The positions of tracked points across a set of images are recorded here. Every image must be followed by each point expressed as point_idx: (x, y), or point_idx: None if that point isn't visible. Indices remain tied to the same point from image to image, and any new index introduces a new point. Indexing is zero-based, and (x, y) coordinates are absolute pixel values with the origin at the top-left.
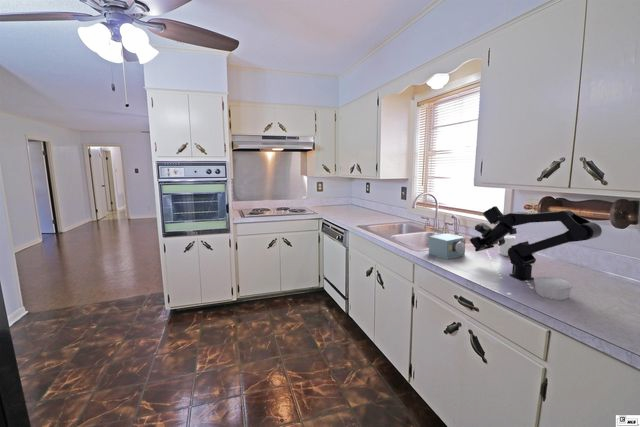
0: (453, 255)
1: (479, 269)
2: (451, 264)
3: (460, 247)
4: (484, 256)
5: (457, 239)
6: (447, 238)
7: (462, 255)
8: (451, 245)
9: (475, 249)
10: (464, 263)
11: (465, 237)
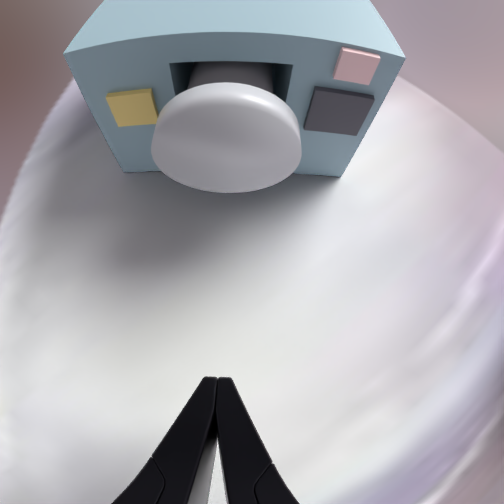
0: None
1: (118, 469)
2: (48, 274)
3: (210, 154)
4: (445, 276)
5: (253, 39)
6: (170, 2)
7: (316, 173)
8: (142, 93)
9: (199, 388)
10: (141, 318)
11: (404, 58)
